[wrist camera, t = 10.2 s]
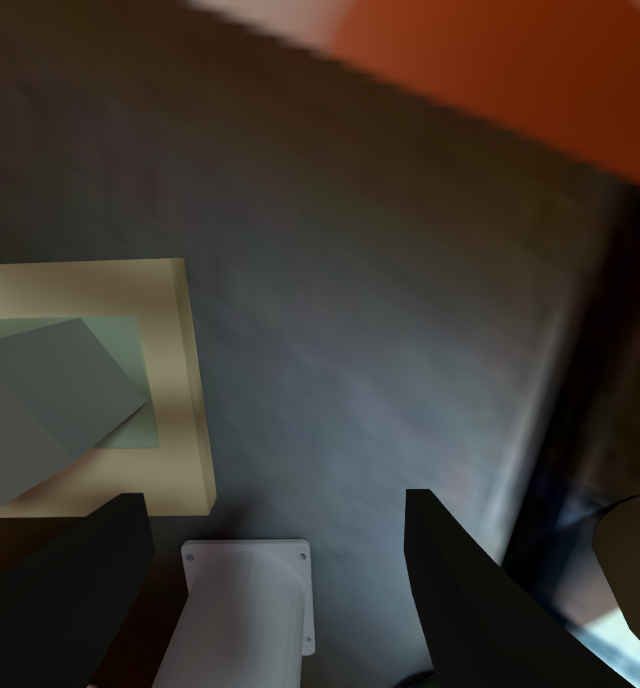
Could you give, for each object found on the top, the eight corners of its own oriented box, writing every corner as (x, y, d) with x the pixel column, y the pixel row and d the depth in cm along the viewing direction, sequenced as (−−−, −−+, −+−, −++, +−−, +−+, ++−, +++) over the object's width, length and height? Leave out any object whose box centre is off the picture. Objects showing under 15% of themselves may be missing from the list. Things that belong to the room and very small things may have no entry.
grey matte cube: (147, 401, 17) (75, 461, 12) (74, 446, 18) (-21, 519, 13) (79, 317, 16) (-31, 346, 11) (5, 369, 16) (-128, 418, 12)
